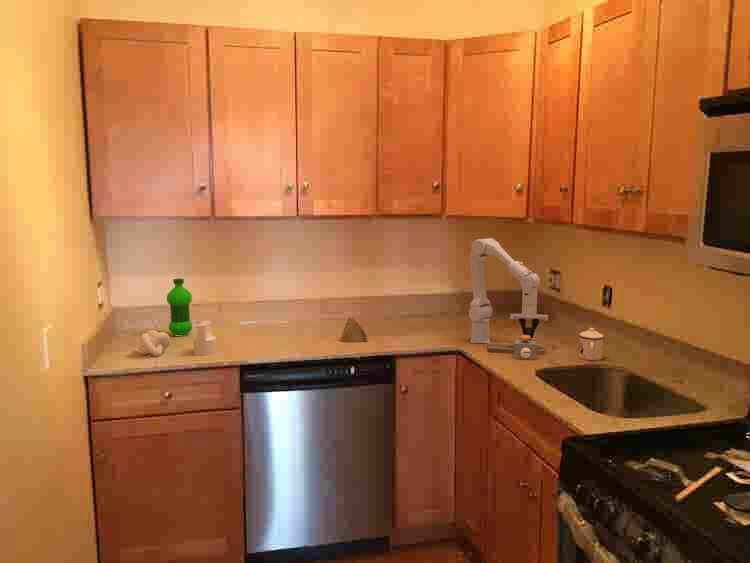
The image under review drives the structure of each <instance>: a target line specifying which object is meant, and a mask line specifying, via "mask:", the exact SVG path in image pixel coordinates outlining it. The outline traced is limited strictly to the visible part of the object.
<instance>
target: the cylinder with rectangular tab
mask: <svg viewBox="0 0 750 563" xmlns="http://www.w3.org/2000/svg"><path fill="white" fill-rule="evenodd" d="M196 327H197V336H194V337H193V338H192V343H193V354H194V356H199V357H200V356H201V357H207V356H214V355H216V354H218V340H217V336H215V335H213V334H212V333H213V332H212V320H203V321H202V322H200V323H199V324H198V325H197V326H196Z"/></svg>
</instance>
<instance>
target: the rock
mask: <svg viewBox="0 0 750 563" xmlns="http://www.w3.org/2000/svg"><path fill="white" fill-rule="evenodd" d="M367 341H368V336H367V334H366V332H365V329H363V328H362V326H361V325H360V323H359V322H358V321H356V320H355V319H354V318H353V317H348V318H347V321H346V322H345V324H344V328H343V331H342V334H341V337H340V343H345V342H346V343H353V342H354V343H355V342H356V343H359V342H360V343H361V342H367Z"/></svg>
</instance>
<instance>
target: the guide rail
mask: <svg viewBox="0 0 750 563" xmlns="http://www.w3.org/2000/svg"><path fill="white" fill-rule="evenodd" d="M536 344H537V343H536ZM489 346H495V347H514V342H513V343H511V342H510V343H509V342H491V341H490V342H489ZM542 346H543V344H540V343H539V344H537V348H542Z"/></svg>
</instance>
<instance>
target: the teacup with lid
mask: <svg viewBox="0 0 750 563" xmlns="http://www.w3.org/2000/svg"><path fill="white" fill-rule="evenodd" d="M578 337H579V344H578V357H579V358H580V359H583V360H586V361H587V360H588V361H600V360H601V359H602V358H603V347H604V338H605V336H604V334H603V333H600V332H598V331H596V330H595V328H594V327H589V329H588V330H586V331H582V332H580V333H579V334H578Z"/></svg>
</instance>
